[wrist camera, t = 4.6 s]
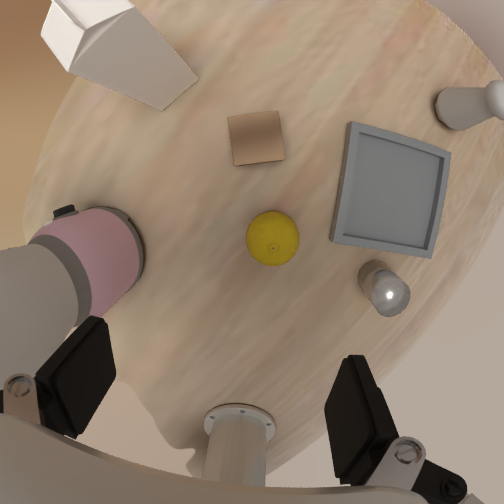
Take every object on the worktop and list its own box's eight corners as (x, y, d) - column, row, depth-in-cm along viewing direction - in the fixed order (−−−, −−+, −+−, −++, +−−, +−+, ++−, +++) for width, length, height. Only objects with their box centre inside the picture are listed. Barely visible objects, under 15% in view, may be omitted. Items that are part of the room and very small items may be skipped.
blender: (158, 285, 37) (7, 491, 6) (90, 296, 38) (-54, 440, 8) (126, 168, 33) (-134, 226, 2) (59, 195, 34) (-136, 266, 3)
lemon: (295, 206, 33) (304, 218, 26) (294, 252, 35) (302, 276, 27) (247, 206, 34) (242, 219, 26) (249, 252, 35) (244, 277, 28)
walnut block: (282, 160, 32) (285, 159, 27) (239, 165, 32) (234, 165, 28) (276, 118, 30) (278, 110, 26) (233, 124, 31) (227, 117, 26)
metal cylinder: (383, 293, 36) (403, 317, 29) (353, 289, 36) (370, 315, 29) (391, 262, 35) (415, 282, 28) (362, 257, 35) (381, 278, 28)
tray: (424, 254, 34) (431, 258, 32) (329, 238, 34) (332, 242, 32) (443, 152, 30) (451, 152, 28) (347, 123, 30) (352, 121, 28)
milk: (162, 112, 31) (35, 65, 10) (135, 82, 29) (11, 25, 8) (200, 78, 29) (113, -16, 8) (172, 49, 28) (76, -43, 7)
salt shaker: (436, 134, 29) (501, 128, 17) (423, 92, 28) (484, 70, 15) (465, 129, 29) (529, 125, 16) (454, 90, 27) (515, 73, 15)
